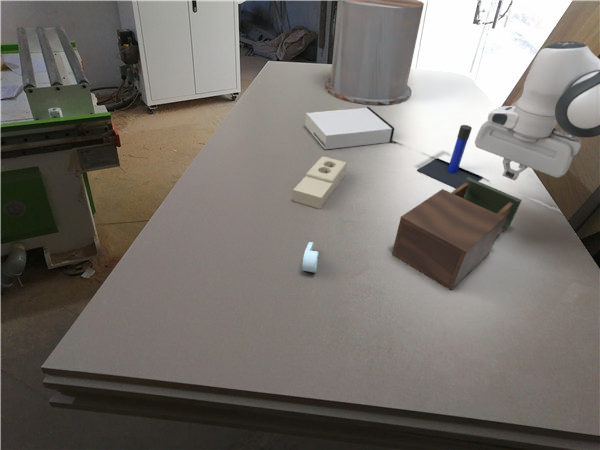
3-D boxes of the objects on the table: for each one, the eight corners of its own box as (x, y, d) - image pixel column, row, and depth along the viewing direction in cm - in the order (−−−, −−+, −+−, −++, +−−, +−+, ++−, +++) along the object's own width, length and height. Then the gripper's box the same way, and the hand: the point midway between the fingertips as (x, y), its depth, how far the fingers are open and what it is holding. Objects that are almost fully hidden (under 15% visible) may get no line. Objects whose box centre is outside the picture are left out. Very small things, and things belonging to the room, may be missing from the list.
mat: (487, 174, 112) (487, 173, 112) (463, 191, 104) (463, 190, 104) (442, 156, 120) (442, 154, 120) (416, 170, 112) (417, 169, 112)
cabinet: (431, 224, 92) (442, 188, 86) (488, 254, 85) (504, 217, 79) (391, 254, 83) (400, 216, 77) (451, 290, 76) (466, 251, 70)
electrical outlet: (293, 186, 95) (322, 155, 108) (292, 200, 97) (320, 168, 110) (321, 194, 92) (347, 161, 106) (320, 209, 95) (345, 175, 108)
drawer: (466, 198, 100) (476, 171, 95) (516, 221, 93) (529, 192, 88) (426, 228, 89) (435, 199, 84) (479, 257, 82) (492, 226, 78)
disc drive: (391, 142, 126) (394, 127, 123) (325, 150, 119) (326, 134, 116) (366, 120, 139) (368, 106, 136) (304, 126, 132) (305, 112, 129)
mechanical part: (314, 276, 76) (316, 258, 74) (301, 274, 76) (303, 256, 75) (320, 255, 83) (322, 238, 81) (308, 253, 84) (310, 236, 82)
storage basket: (398, 112, 147) (418, 13, 127) (311, 93, 158) (317, 0, 138) (419, 85, 172) (438, 0, 153) (342, 71, 183) (351, -10, 164)
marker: (459, 171, 112) (473, 127, 104) (454, 174, 111) (468, 130, 103) (450, 167, 114) (463, 123, 106) (445, 170, 112) (458, 126, 104)
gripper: (590, 134, 83) (560, 191, 92) (494, 104, 94) (475, 157, 103) (580, 142, 80) (550, 201, 88) (482, 110, 91) (463, 165, 99)
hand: (509, 177), depth 95 cm, fingers closed
